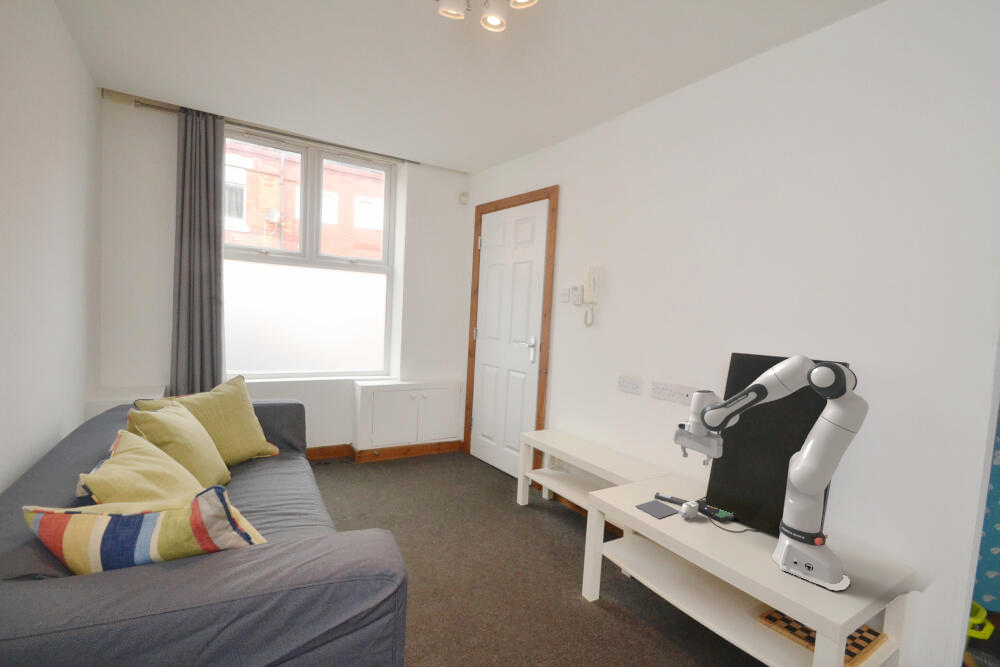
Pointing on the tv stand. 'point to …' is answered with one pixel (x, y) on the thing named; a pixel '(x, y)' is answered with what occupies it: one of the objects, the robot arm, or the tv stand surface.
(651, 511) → the mat
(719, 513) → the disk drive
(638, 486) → the tv stand surface
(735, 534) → the tv stand surface
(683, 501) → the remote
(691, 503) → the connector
